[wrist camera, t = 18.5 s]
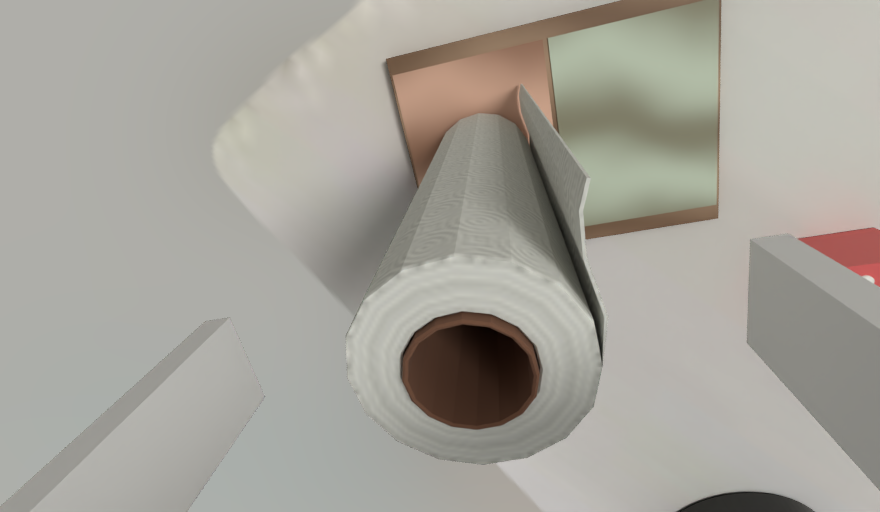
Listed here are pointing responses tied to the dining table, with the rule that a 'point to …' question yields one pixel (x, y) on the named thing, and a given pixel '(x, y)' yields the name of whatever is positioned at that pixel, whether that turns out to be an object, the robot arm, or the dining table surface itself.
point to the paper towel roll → (485, 300)
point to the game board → (591, 102)
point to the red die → (852, 251)
